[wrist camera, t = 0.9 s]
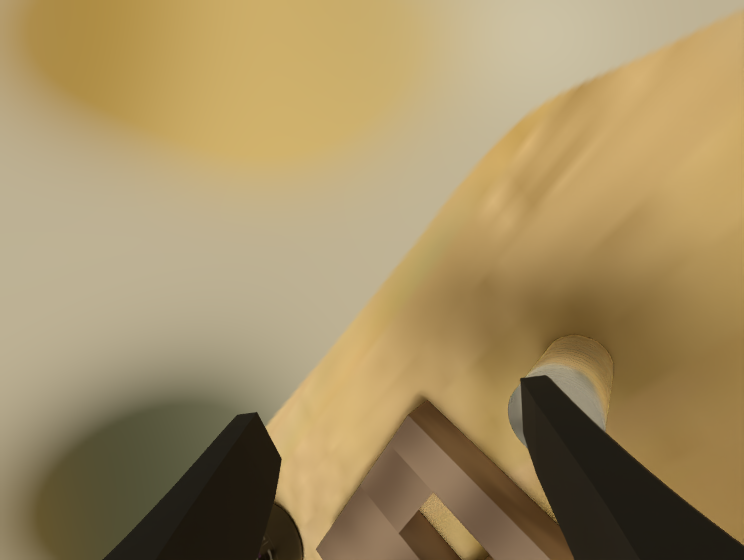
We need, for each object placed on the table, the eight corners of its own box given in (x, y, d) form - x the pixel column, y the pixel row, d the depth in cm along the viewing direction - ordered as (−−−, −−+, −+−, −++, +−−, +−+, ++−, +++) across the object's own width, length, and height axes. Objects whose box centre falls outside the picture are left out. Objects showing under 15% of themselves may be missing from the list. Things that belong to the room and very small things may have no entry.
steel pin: (629, 362, 16) (627, 425, 11) (586, 405, 18) (566, 482, 12) (568, 322, 18) (540, 360, 12) (533, 365, 19) (492, 417, 13)
